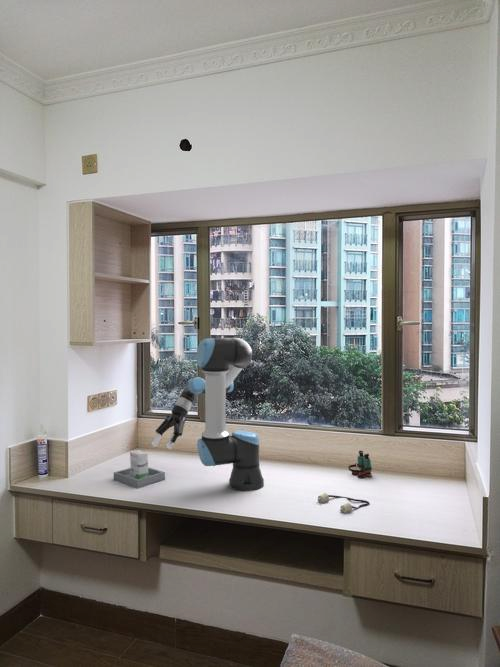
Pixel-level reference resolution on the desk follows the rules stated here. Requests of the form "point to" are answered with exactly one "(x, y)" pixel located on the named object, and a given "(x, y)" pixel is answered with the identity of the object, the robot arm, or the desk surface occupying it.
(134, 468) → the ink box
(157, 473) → the gray tray
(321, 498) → the grey balls with cord
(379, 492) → the desk surface
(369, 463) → the binoculars
